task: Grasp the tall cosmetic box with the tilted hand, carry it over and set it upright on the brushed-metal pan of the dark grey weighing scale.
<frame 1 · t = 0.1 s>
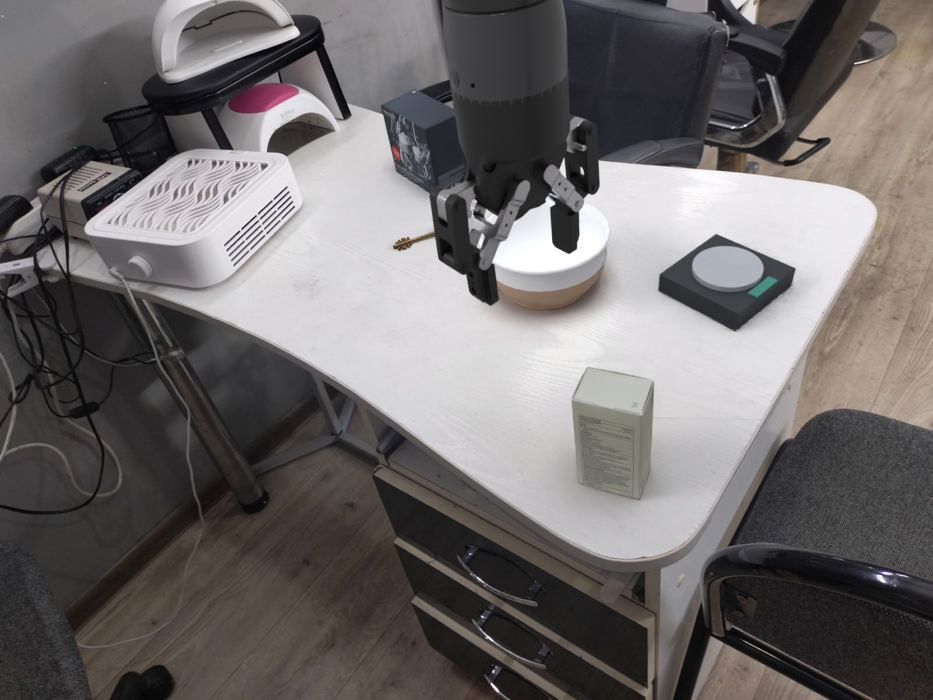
hand: (527, 273, 54), 22 cm above the table, tool pointing down, fingers open, 8 cm apart
small box: (432, 177, 112), on the table
scale: (723, 288, 83), on the table
bowl: (546, 283, 88), on the table
cosmetic box: (612, 475, 66), on the table
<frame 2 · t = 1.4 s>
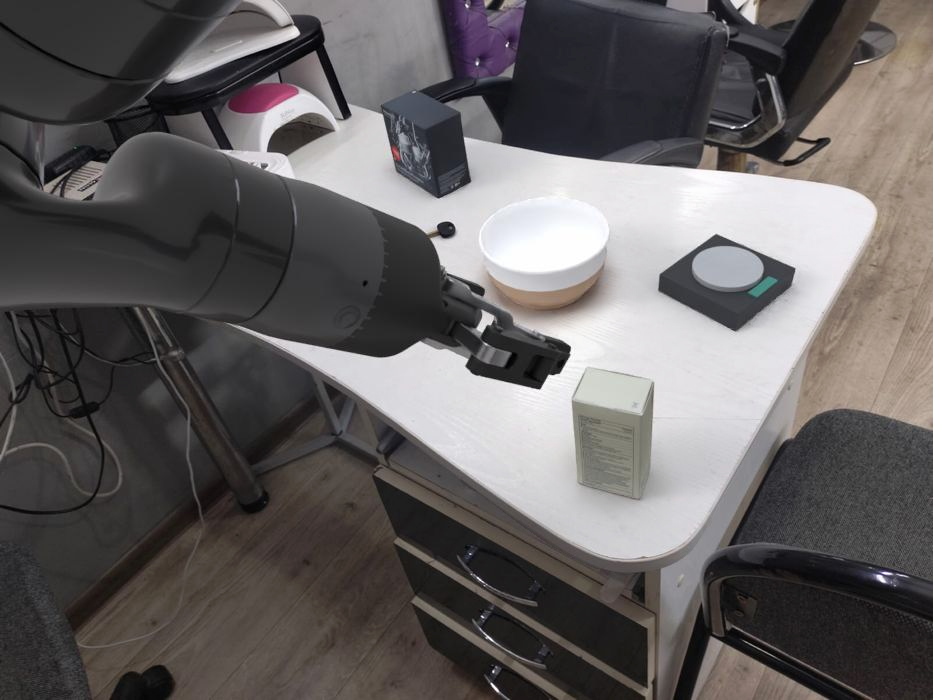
hand: (516, 327, 46), 25 cm above the table, tool tilted 45°, fingers open, 8 cm apart
nothing on the table moved.
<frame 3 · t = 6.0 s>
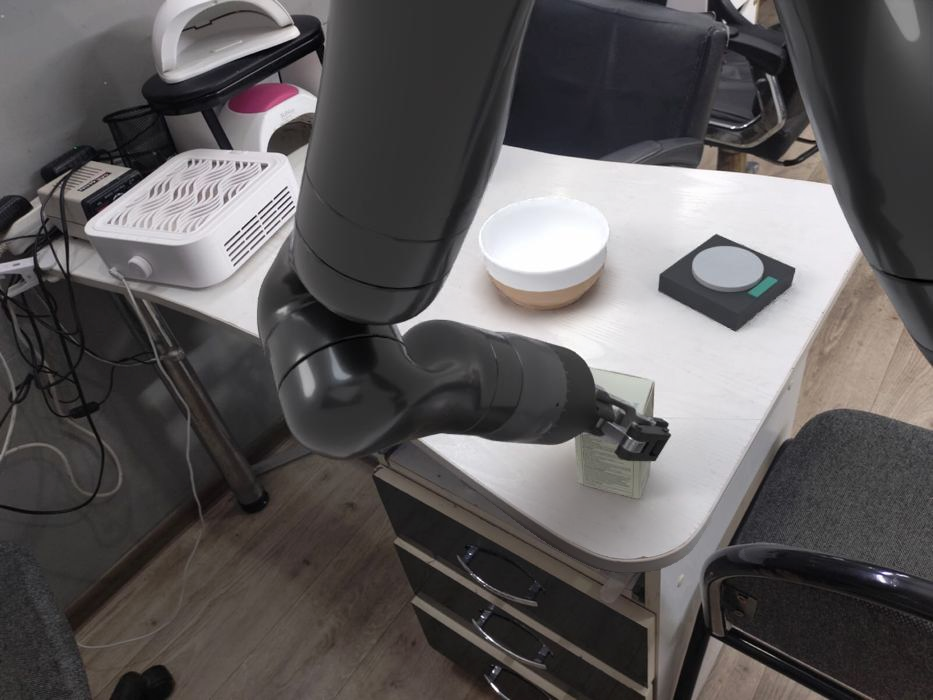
hand: (625, 407, 61), 9 cm above the table, tool tilted 45°, fingers closed on cosmetic box, 7 cm apart
cosmetic box: (612, 475, 66), on the table, touching gripper
everything else where it was.
when the fingers open (12 cm above the table, at t = 16.4 s): cosmetic box stays where it is, resting on scale.
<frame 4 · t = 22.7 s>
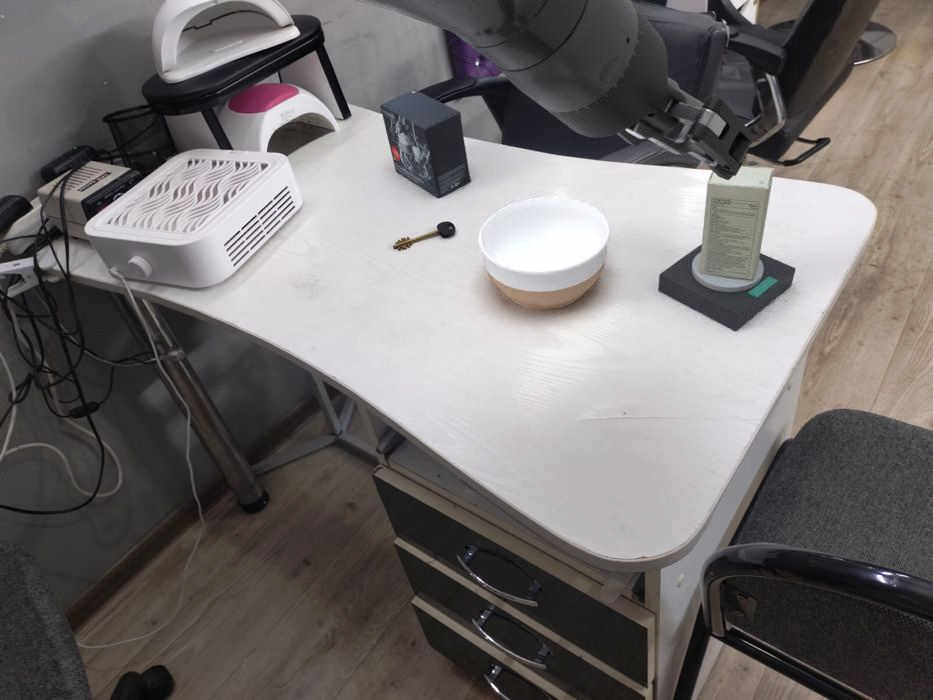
hand: (684, 149, 52), 29 cm above the table, tool tilted 45°, fingers open, 8 cm apart
cosmetic box: (727, 267, 81), point 3 cm above the table, touching scale
everything else where it was.
at the end: cosmetic box 0.1 cm off-centre on the scale, point 3.2 cm above the scale's base; cosmetic box tilted 0°; the gripper is holding nothing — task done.
